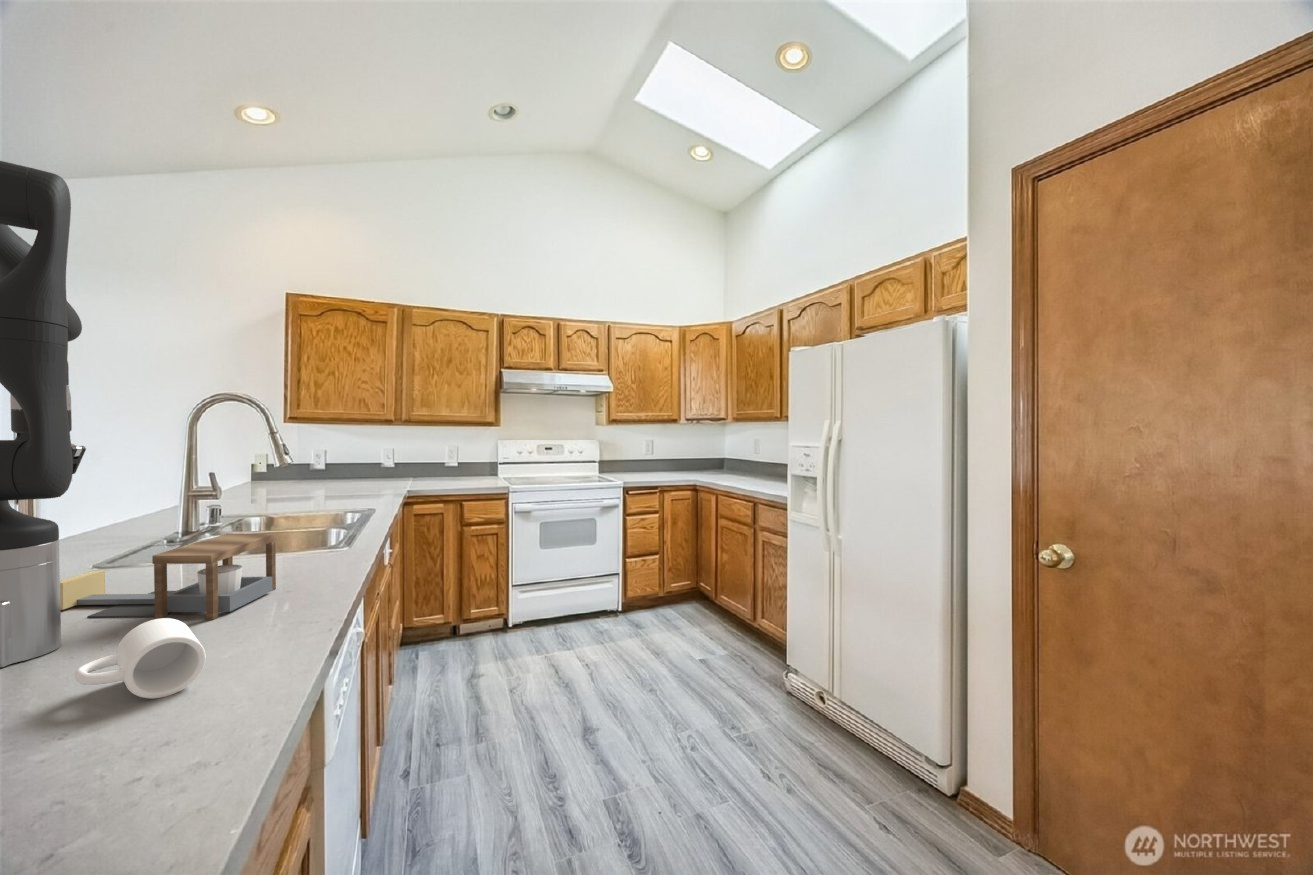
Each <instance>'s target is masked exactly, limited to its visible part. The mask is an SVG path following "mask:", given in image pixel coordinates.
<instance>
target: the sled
mask: <svg viewBox="0 0 1313 875" xmlns="http://www.w3.org/2000/svg"><path fill="white" fill-rule="evenodd" d="M174 591H175V592H172V593H169V594H167V605H168V613H206V594H200V589H199V582H198V581H197V582H195V583H193V584H191V585H188V586H185V587H183V588H180V589H178V590H174ZM271 592H273V590H272V577H266V576H241V585H240V589H239V590H236V591H234V592H232V593H230V594H218V613H219V612H220V613H221V612H222V613H223V612H224V613H225V612H226V613H229V612H230V613H231V612H232V611H234V610H236V609H238V608H240V607H243V606H244V605H247V604H248V603H250V602H252V601H254V600H256V599H258V598H261V597H262V596H264V595H266V594H269V593H271ZM119 604H155V594H148V593H113V594H111V593H106V571H105V570H93V571H89V572H86V573H82V574H78V575H75V576H71V577H68V578H65V579H62V580H61V579H60V610H61V611H63V610H66V609H69V608H72V607H74V606H81V605H83V606H85V605H86V606H87V605H88V606H89V605H92V606H93V605H119Z"/></svg>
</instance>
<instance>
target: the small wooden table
mask: <svg viewBox="0 0 1313 875" xmlns="http://www.w3.org/2000/svg"><path fill="white" fill-rule="evenodd" d="M276 541H277V533H225V534H222V535H218V536H215V537H211V538H208V539H204V540H202V541H198V542H194V543H191V544H187V545H184V546H181V547H176V548H174V549H170V550H166V551H163V552H160V553H157V554H154V555H152V562H151V563H152V565H153V573H154V574H153V576H154V578H153V579H154V580H153V581H154V583H153V584H154V586H153V587H154V591H153V592H154V594H155V617H154V619H161V618H169V617H168V613H169V612H168V605H167V591H168V564H169V565H173V564H175V565H176V564H177V565H182V564H184V565H187V564H189V565H190V564H191V565H192V564H193V565H199V564H202V565H203V564H205V568H206V612H205V613H206V614H205V615H206V621H214V620H216V619H217V618H219V612H218V566H219V565H218V562H220V561H221V563H222V564H221V565H234V564H233V563H234V562H233V556H236V555H239V554H242V553H245V552H249V551H251V550H253V549H257V548H259V547H262V546H264V545H265V577H272V591H274V590H276V589H277V587H276V586H277V582H276V579H277V576H276V575H277V574H276V573H277V572H276V571H277V569H276V568H277V567H276V565H277V564H276V559H277V558H276V557H277V556H276Z"/></svg>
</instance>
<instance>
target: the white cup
mask: <svg viewBox="0 0 1313 875" xmlns="http://www.w3.org/2000/svg"><path fill="white" fill-rule="evenodd" d="M242 574H243V566H242V565H241V564H233V565H222V564H220V565H218V594H230V593H232V592H234V591H236V590H239V589H240V585H241V577H242ZM198 582H199V589H200V594H206V567H205V568H203V569H200V570H198V571H197V583H198Z"/></svg>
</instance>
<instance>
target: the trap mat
mask: <svg viewBox="0 0 1313 875" xmlns="http://www.w3.org/2000/svg"><path fill="white" fill-rule="evenodd" d="M175 591H176V590H167V594H169V593H172V592H175ZM147 594H154V591H151V592H148V593H147ZM86 618H89V619H92V618H96V619H99V618H101V619H102V618H103V619H105V618H109V619H110V618H111V619H112V618H113V619H114V618H155V604H115V605H113V606H111V607H108V608H105V609H103V610H100V611H98V612H95V613H92V614H90V615H89V614H88V615H87V616H86Z"/></svg>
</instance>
